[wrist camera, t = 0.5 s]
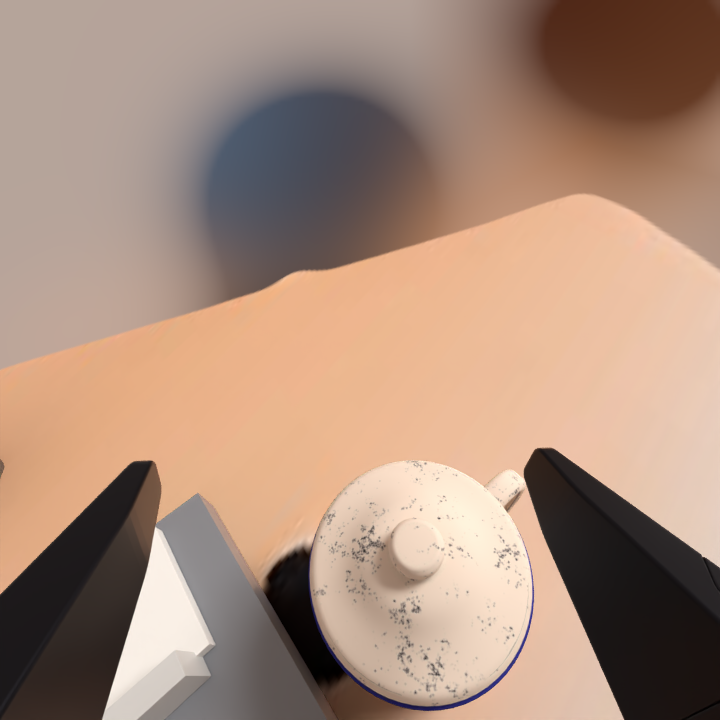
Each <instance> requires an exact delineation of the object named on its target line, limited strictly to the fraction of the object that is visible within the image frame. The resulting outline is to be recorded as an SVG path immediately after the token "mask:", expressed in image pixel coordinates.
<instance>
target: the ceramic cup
mask: <svg viewBox="0 0 720 720" xmlns="http://www.w3.org/2000/svg"><path fill="white" fill-rule="evenodd" d="M3 469H4V464H3V462H2V461H1V460H0V477H1V475H2V472H3Z"/></svg>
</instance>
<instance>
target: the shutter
mask: <svg viewBox="0 0 720 720" xmlns="http://www.w3.org/2000/svg"><path fill="white" fill-rule="evenodd" d="M215 645H216V644H215V642H214V640H213V638H212V636H211V634H210V632H209V630H208V627H207V625H206V623H205V621H204V619H203V617H202V615H201V613H200V610H199V608H198V606H197V604H196V602H195V600H194V598H193V596H192V593H191V591H190V589H189V587H188V585H187V583H186V581H185V579H184V576H183V574H182V572H181V570H180V568H179V566H178V564H177V562H176V559H175V557H174V555H173V553H172V551H171V549H170V547H169V545H168V542H167V540H166V538H165V536H164V534H163V532H162V531H161V530H160V529H158V528H156V527H155V531H154V537H153V542H152V548H151V553H150V558H149V563H148V568H147V571H146V575H145V579H144V582H143V585H142V589H141V592H140V595H139V599H138V602H137V605H136V609H135V612H134V615H133V619H132V622H131V625H130V629H129V632H128V635H127V639H126V642H125V645H124V649H123V652H122V655H121V658H120V662H119V665H118V668H117V672H116V675H115V678H114V682H113V685H112V688H111V692H110V695H109V698H108V702H107V705H106V708H105V712H104V715H103V718H102V720H164V719H165V718H167V717H168V716H169V715H170V714H171V713H172V712H173V711H174V710H175V709H176V708H177V707H178V706H180V705H181V704H182V703H183V702H184V701H185V700H186V699H187V698H188V697H189V696H190V695H191V694H193V693H194V692H195V691H196V690H197V689H198V688H199V687H200V686H201V685H202V684H203V683H204V682H206V681H207V680H208V679H209V678H210V677H211V674H210V672H209V670H208V668H207V665H206V663H205V661H204V659H203V656H204V655H205V654H206V653H208V652H209V651H210V650H211V649H212V648H213V647H214V646H215Z"/></svg>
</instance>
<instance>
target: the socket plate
mask: <svg viewBox="0 0 720 720" xmlns="http://www.w3.org/2000/svg"><path fill="white" fill-rule="evenodd" d="M155 527H156V528H158V529H160V530H161V531H162V532H163V534H164V536H165V538H166V540H167V542H168V545H169V547H170V549H171V551H172V553H173V555H174V557H175V559H176V562H177V564H178V566H179V568H180V570H181V572H182V574H183V576H184V579H185V581H186V583H187V585H188V587H189V589H190V591H191V593H192V596H193V598H194V600H195V602H196V604H197V606H198V608H199V610H200V613H201V615H202V617H203V619H204V621H205V623H206V625H207V627H208V630H209V632H210V634H211V636H212V638H213V640H214V642H215V644H216V645H215V646H214V647H213V648H212V649H211V650H210V651H209V652H208V653H206V654H205V655H204V656H203V659H204V661H205V663H206V665H207V668H208V670H209V672H210V674H211V677H210V678H209V679H208V680H207V681H206V682H204V683H203V684H202V685H201V686H200V687H199V688H198V689H197V690H196V691H195V692H194V693H193V694H191V695H190V696H189V697H188V698H187V699H186V700H185V701H184V702H183V703H182V704H181V705H180V706H178V707H177V708H176V709H175V710H174V711H173V712H172V713H171V714H170V715H169V716H168V717H167V718H165V719H164V720H338V719H337V717H336V715H335V714H334V712H333V710H332V708H331V707H330V705H329V703H328V702H327V700H326V698H325V696H324V695H323V693H322V691H321V690H320V688H319V686H318V684H317V683H316V681H315V679H314V678H313V676H312V674H311V673H310V671H309V669H308V667H307V666H306V664H305V662H304V661H303V659H302V657H301V655H300V654H299V652H298V650H297V649H296V647H295V645H294V643H293V642H292V640H291V638H290V637H289V635H288V633H287V631H286V630H285V628H284V626H283V625H282V623H281V621H280V619H279V618H278V616H277V614H276V613H275V611H274V609H273V607H272V606H271V604H270V602H269V601H268V599H267V597H266V595H265V594H264V592H263V590H262V589H261V587H260V585H259V584H258V582H257V580H256V578H255V577H254V575H253V573H252V572H251V570H250V568H249V566H248V565H247V563H246V561H245V560H244V558H243V556H242V554H241V553H240V551H239V549H238V548H237V546H236V544H235V542H234V541H233V539H232V537H231V536H230V534H229V532H228V530H227V529H226V527H225V525H224V524H223V522H222V520H221V518H220V517H219V515H218V513H217V512H216V510H215V508H214V506H213V505H211V504H210V503H209V502H208V501H207V500H206V499H204V498H203V497H202V496H201V495H200V494H199V493H197V494H196V495H194V496H193V497H192V498H190V499H189V500H188V501H186V502H185V503H184V504H182V505H181V506H179V507H178V508H177V509H175V510H174V511H173V512H171V513H170V514H169V515H167V516H166V517H165V518H163V519H162V520H161V521H159V522H158V523H157V524H156V526H155Z"/></svg>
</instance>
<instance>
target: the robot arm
mask: <svg viewBox="0 0 720 720" xmlns="http://www.w3.org/2000/svg"><path fill="white" fill-rule="evenodd" d="M524 479H525V482H526V485H527V488H528V491H529V494H530V497H531V500H532V503H533V506H534V509H535V512H536V515H537V518H538V521H539V524H540V527H541V530H542V533H543V535H544V538H545V540H546V543H547V545H548V547H549V550H550V552H551V554H552V556H553V559H554V561H555V563H556V566H557V568H558V570H559V572H560V575H561V577H562V579H563V581H564V584H565V586H566V588H567V591H568V593H569V595H570V597H571V600H572V602H573V604H574V607H575V609H576V611H577V613H578V616H579V618H580V620H581V622H582V625H583V627H584V629H585V632H586V634H587V636H588V638H589V641H590V643H591V645H592V647H593V650H594V652H595V654H596V657H597V659H598V661H599V663H600V666H601V668H602V670H603V672H604V675H605V677H606V679H607V682H608V684H609V686H610V688H611V691H612V693H613V695H614V698H615V700H616V702H617V704H618V707H619V709H620V711H621V713H622V716H623V718H624V720H720V568H719V567H718V566H717V565H715V564H714V563H712V562H711V561H710V560H708V559H707V558H705V557H702V555H701V554H700V553H698V552H697V551H696V550H694V549H693V548H691V547H690V546H689V545H687V544H686V543H684V542H683V541H682V540H680V539H679V538H678V537H676V536H675V535H673V534H672V533H671V532H669V531H668V530H666V529H665V528H664V527H662V526H661V525H659V524H658V523H657V522H655V521H654V520H652V519H651V518H650V517H648V516H647V515H646V514H644V513H643V512H641V511H640V510H639V509H637V508H636V507H634V506H633V505H632V504H630V503H629V502H627V501H626V500H625V499H623V498H622V497H620V496H619V495H618V494H616V493H615V492H614V491H612V490H611V489H609V488H608V487H607V486H605V485H604V484H602V483H601V482H600V481H598V480H597V479H595V478H594V477H593V476H591V475H590V474H588V473H587V472H586V471H584V470H583V469H582V468H580V467H579V466H577V465H576V464H575V463H573V462H572V461H570V460H569V459H568V458H566V457H565V456H563V455H562V454H561V453H559V452H558V451H556V450H555V449H553V448H537V449H535V450H534V452H533V453H532V455H531V457H530V459H529V461H528V462H527V464H526V466H525V468H524ZM160 498H161V482H160V478H159V475H158V471H157V467H156V464H155V462H154V461H134V462H132V463H131V464H129V465H128V466H127V467H126V468H125V469H124V470H123V471H122V472H121V473H120V474H119V476H118V477H117V478H116V479H115V480H114V481H113V482H112V483H111V484H110V485H109V486H108V487H107V488H106V489H105V490H104V491H103V492H102V493H101V494H100V495H99V496H98V497H97V498H96V499H95V500H94V501H93V502H92V503H91V504H90V505H89V506H88V507H87V508H86V509H85V510H84V511H83V512H82V513H81V514H80V515H79V516H78V517H77V518H76V519H75V520H74V521H73V522H72V523H71V524H70V525H69V526H68V527H67V528H66V529H65V530H64V531H63V532H62V533H61V534H60V535H59V536H58V537H57V538H56V539H55V540H54V541H53V542H52V543H51V544H50V545H49V546H48V547H47V548H46V549H45V550H44V551H43V552H42V553H41V554H40V555H39V556H38V557H37V558H36V559H35V560H34V561H33V562H32V563H31V564H30V565H29V566H28V567H27V568H26V569H25V570H24V571H23V572H22V573H21V574H20V575H19V576H18V577H17V578H16V579H15V580H14V581H13V582H12V583H11V584H10V585H9V586H8V587H7V588H6V589H5V590H4V591H3V592H2V593H1V594H0V720H102V718H103V715H104V712H105V708H106V705H107V702H108V698H109V695H110V692H111V688H112V685H113V682H114V678H115V675H116V672H117V668H118V665H119V662H120V658H121V655H122V652H123V649H124V645H125V642H126V639H127V635H128V632H129V629H130V625H131V622H132V619H133V615H134V612H135V609H136V605H137V602H138V599H139V595H140V592H141V589H142V585H143V582H144V579H145V575H146V571H147V568H148V563H149V558H150V553H151V548H152V542H153V537H154V531H155V526H156V520H157V514H158V509H159V503H160Z"/></svg>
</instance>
